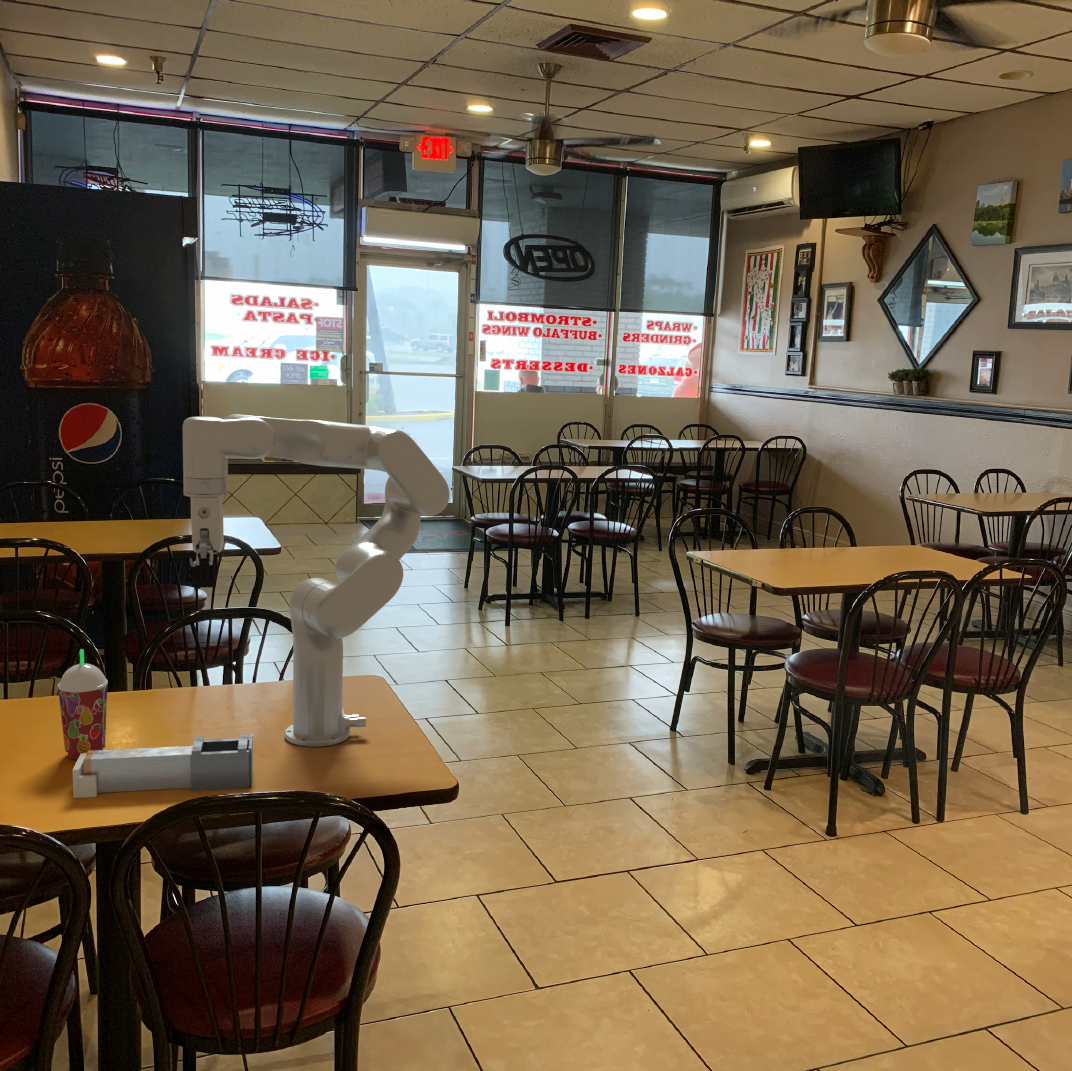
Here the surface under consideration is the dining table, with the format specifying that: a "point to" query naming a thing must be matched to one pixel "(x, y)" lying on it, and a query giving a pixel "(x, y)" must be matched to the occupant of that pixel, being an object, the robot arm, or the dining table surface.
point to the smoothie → (83, 708)
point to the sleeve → (221, 763)
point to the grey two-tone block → (140, 768)
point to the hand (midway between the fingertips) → (207, 581)
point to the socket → (83, 780)
